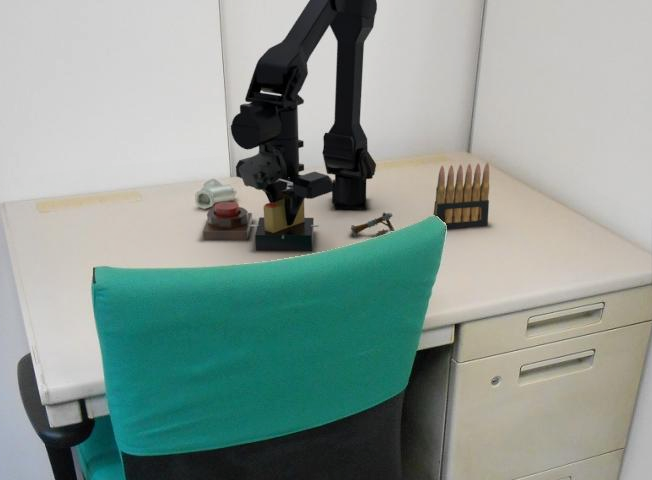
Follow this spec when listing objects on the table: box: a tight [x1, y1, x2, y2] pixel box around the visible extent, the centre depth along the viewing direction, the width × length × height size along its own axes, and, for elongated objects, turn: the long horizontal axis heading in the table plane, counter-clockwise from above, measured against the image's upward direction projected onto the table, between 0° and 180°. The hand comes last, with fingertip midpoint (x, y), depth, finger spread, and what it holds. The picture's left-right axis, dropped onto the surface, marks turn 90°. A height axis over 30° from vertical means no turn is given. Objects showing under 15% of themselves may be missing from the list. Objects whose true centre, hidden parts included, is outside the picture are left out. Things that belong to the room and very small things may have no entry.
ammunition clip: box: [433, 162, 490, 230], centre depth 157 cm, size 11×2×12 cm, turn 104°
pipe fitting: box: [194, 178, 238, 210], centre depth 169 cm, size 8×4×7 cm
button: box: [214, 201, 240, 217], centre depth 155 cm, size 4×4×2 cm
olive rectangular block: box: [263, 199, 306, 233], centre depth 150 cm, size 8×2×5 cm, turn 139°
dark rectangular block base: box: [251, 216, 319, 252], centre depth 152 cm, size 12×12×3 cm
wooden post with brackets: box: [350, 212, 395, 237], centre depth 155 cm, size 2×8×4 cm, turn 86°
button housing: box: [202, 206, 253, 241], centre depth 156 cm, size 8×10×4 cm
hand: (284, 223), depth 151 cm, fingers closed on olive rectangular block, 2 cm apart
